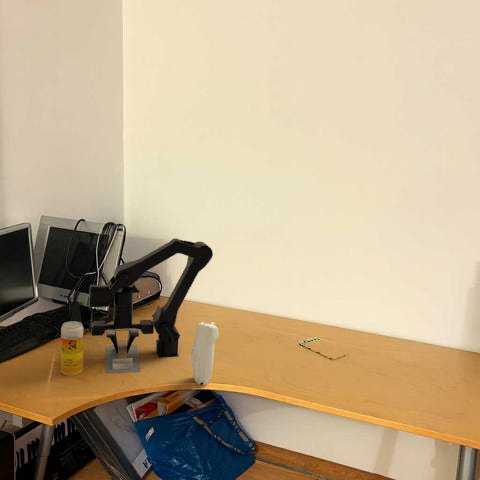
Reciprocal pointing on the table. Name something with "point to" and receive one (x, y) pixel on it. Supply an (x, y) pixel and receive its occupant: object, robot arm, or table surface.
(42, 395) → the table surface
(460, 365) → the table surface
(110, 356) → the tool mat
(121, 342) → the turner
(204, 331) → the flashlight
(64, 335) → the yellow cylindrical bottle
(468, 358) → the table surface
